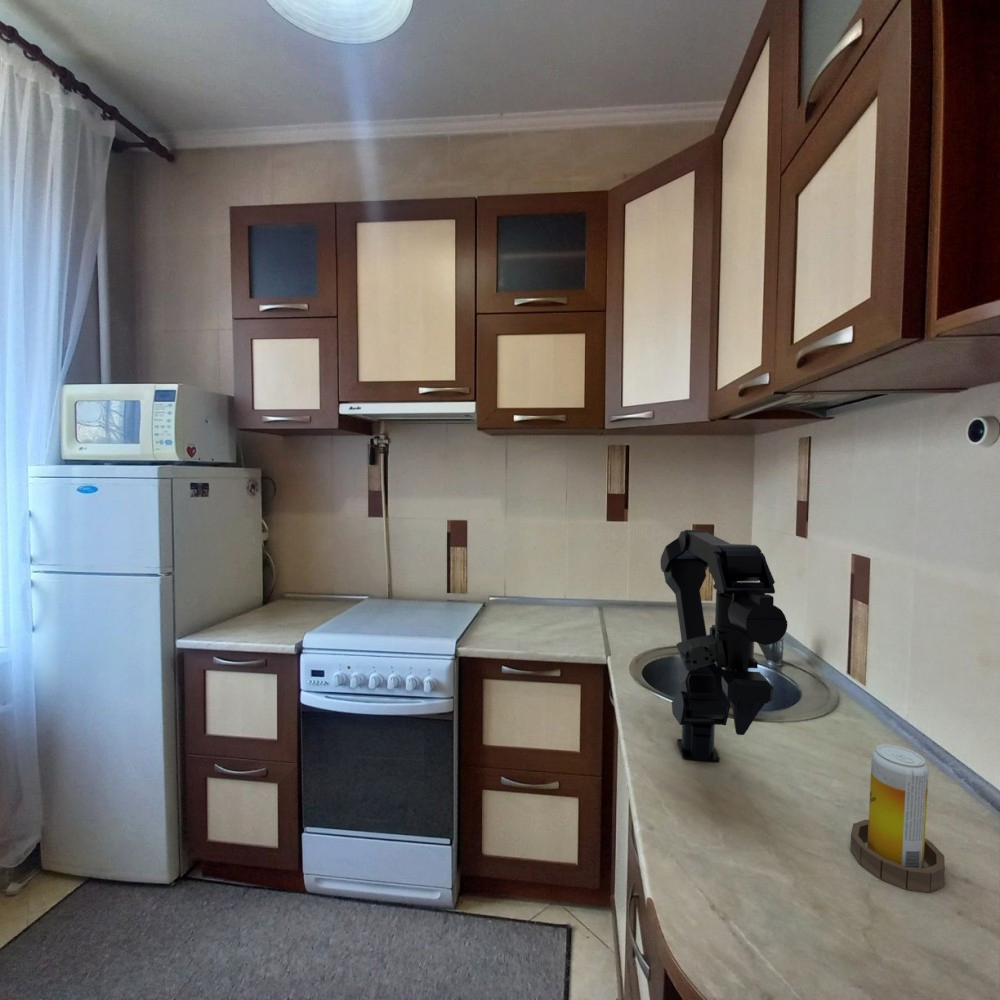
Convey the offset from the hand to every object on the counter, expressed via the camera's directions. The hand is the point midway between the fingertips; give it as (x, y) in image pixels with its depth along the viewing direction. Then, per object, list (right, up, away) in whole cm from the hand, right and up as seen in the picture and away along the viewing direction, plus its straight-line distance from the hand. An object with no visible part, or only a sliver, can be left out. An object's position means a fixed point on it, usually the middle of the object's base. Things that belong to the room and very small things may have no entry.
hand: (731, 720), depth 85 cm
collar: (+17, -14, -13) cm, 25 cm away
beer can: (+17, -14, -13) cm, 25 cm away
